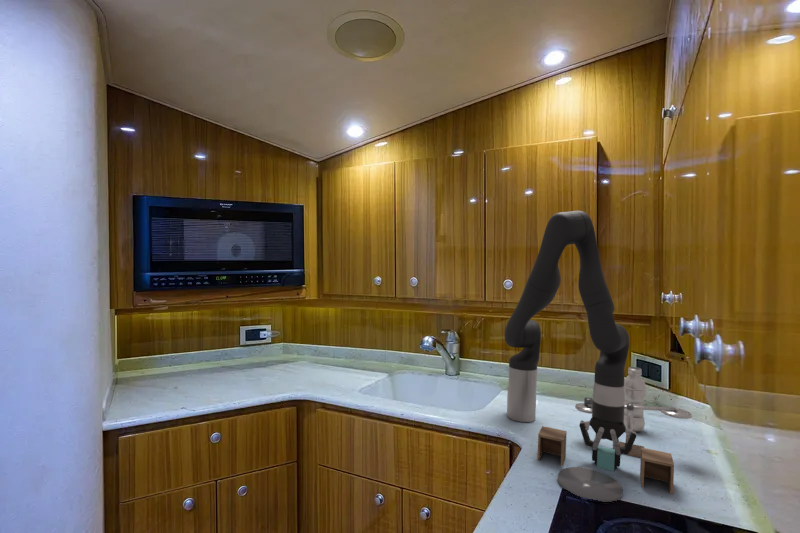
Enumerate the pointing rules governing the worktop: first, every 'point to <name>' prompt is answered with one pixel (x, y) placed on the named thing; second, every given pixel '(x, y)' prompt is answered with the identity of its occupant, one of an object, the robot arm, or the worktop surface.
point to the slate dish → (590, 484)
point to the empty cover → (657, 466)
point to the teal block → (605, 458)
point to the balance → (635, 449)
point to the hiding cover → (552, 442)
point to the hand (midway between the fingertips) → (605, 464)
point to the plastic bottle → (635, 396)
